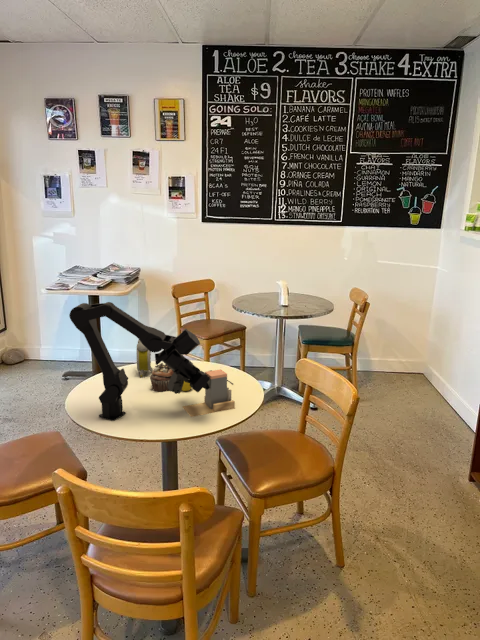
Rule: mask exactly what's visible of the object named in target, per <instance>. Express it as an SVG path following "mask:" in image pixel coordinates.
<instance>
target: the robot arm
mask: <svg viewBox="0 0 480 640" xmlns="http://www.w3.org/2000/svg"><path fill="white" fill-rule="evenodd" d="M68 317H69V319H70V321H71V322H72V324H73V325H74V327H75V328H76V329H77V330H78V331H79V332H80V333H82V334H83V336H84V338H85V340H86V342H87V344H88V347H89V348H90V350H91V353H92V354H93V357H94V359H95V360H96V363H97V365H98V367H99V369H100V371H101V373H102V382H103V386H104V389H103V391H102V393H101V394H100V395H99V397H98V400H99V402H100V403H101V413H100V414H98V417H99V418H101V419H106V420H108V421H115V420H117V419H119V418H121V417H122V416H124V415H126V414H127V412H126V411H123V409H124V407H123V399H122V395H123V393H124V392H125V391H126V389H127V388H128V385H129V377H128V376H127V374H126V371H125V369H124V368H121V369H119V368H118V367H117V366H116V365H115V363H114V360H113V359H112V358H113V357H111V353H110V352H109V350H108V348H107V345H106V343H105V341H104V339H103V338H102V334H101V333H100V331H99V329H98V324H97V323H98V322H97V319H99V318H104V317H105V318H107V319H108V320H110V321H112V322H114V323H115V324H117V325H118V326H120V327H121V328H122V329H124V330H126V331H127V332H129V333H131V334H132V335H133V336H135V337H136V338H137V339H138V340H140V342H141V343H142V344H143V345H144V346H145V347H146V348H147V349H148V350H149V351H150V353H154V358H155V360H154V362H155V366H157V365H159V364H161V363H163V364H164V365H165V364H166V365H167V366H169V367H170V368H171V370H172V371H173V372H174V373H173V375H172V376H171V378H170V381H169V383H168V386H167V388H168V389H169V390H170V391H169V392H172V393H174V395H175V394H180V393H181V391H182V387H183V384H184V381H185V382H187V383H190V386H191V387H192V388H191V389H193V390H194V391H195V392H196V393H200V391H201V390H202V389H207V390H208V389H209V385H208V383H207V382H208V381H209V380H210V377H209V376H207V375H206V374H205V373H204V372H205V371H202V370H201V369H200V368H198V367H197V366H196V365H195V364H194V363H193V362H191V360H190V359H189V358H186V357H185V356H187V355H189V354H190V353H191V352H192V351H193V350H195V349H196V348H197V347H198V346H200V345H201V341H200V340H199V338H198V337H197V336H196V334H195V333H193V332H191V330H188V328H184V329H183V330H182V331H181V333H179V334H178V335H176V336H174V335H170V334H166V333H165V332H164V331H162V330H160V329H157V328H156V327H155V328H154V327H151V326H148V325H145V324H144V323H142V322H140V321H139V320H138V319H136V318H135V317H133V316H132V315H130V314H129V313H127V312H125V311H124V310H123V309H122V308H119V307H118V306H116V305H115V304H114V303H113V302H112V301H111V302H110V301H107V302H102V303H101V302H100V303H94V304H89V303H86V302H82V303H80V304H79V305H76V306H75V307H73V308H72V309H71V310H70V312H69V316H68ZM184 355H185V356H184Z"/></svg>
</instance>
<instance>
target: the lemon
mask: <svg viewBox="0 0 480 640" xmlns="http://www.w3.org/2000/svg"><path fill="white" fill-rule="evenodd" d="M191 389H193V388H192V387H191V386H190V383H187V382H185V381H184V384H183V387H182V390H181V391H182V392H189V391H190V390H191Z"/></svg>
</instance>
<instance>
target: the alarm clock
mask: <svg viewBox="0 0 480 640" xmlns="http://www.w3.org/2000/svg"><path fill="white" fill-rule="evenodd" d="M151 356H152V353H151V351H149V350H148V349H147V348H146V347H145V346H144V345H143V344H142V343H141V342H140V340H139V339H138V340H137V344H136V369H137V371H138V372H139V375H140V378H143V375H144V372H150V373H152V371H153V370H154V368H153V367H152V366H151V364H152V361H151Z"/></svg>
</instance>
